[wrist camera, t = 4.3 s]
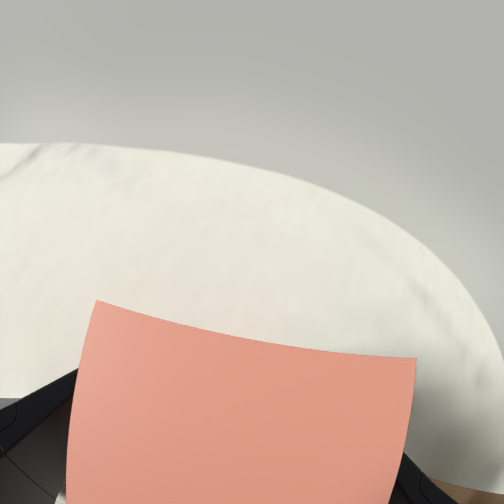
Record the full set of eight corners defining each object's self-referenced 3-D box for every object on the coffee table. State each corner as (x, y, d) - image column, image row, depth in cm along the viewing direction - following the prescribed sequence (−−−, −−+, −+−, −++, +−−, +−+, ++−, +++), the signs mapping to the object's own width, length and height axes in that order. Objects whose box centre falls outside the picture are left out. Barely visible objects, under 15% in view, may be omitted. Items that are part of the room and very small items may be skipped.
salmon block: (256, 447, 13) (348, 585, 2) (172, 431, 13) (71, 551, 1) (270, 371, 15) (416, 359, 4) (187, 354, 15) (96, 300, 3)
